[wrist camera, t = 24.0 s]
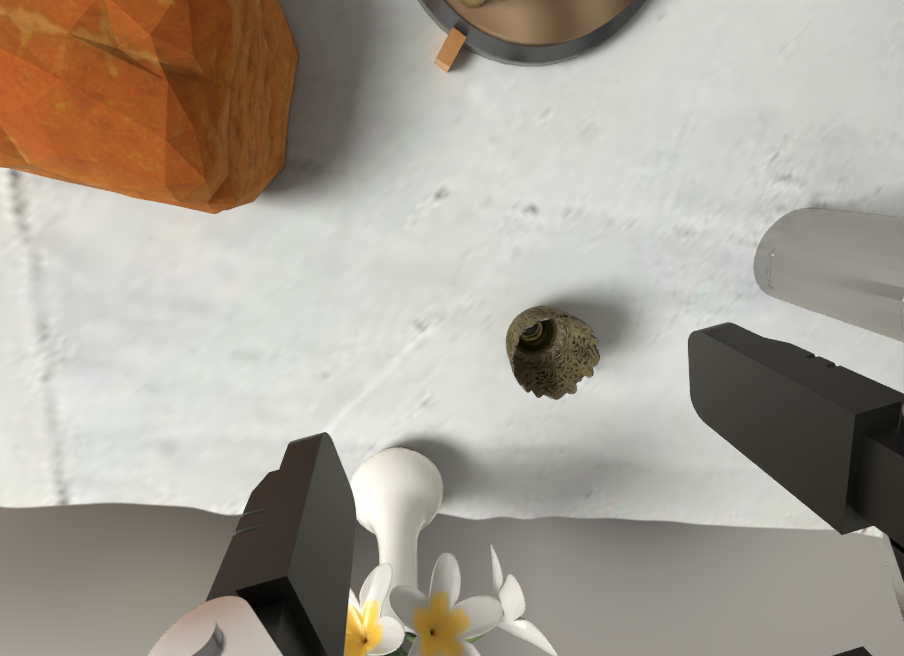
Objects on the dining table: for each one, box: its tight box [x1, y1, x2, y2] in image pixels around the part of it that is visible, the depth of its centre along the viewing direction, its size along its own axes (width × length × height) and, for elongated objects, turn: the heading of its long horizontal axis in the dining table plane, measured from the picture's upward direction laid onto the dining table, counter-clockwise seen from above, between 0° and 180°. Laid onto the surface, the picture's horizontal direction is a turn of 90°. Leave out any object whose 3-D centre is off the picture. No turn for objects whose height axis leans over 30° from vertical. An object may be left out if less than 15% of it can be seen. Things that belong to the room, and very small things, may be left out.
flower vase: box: [344, 447, 558, 656], centre depth 36 cm, size 13×18×25 cm
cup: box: [506, 306, 600, 400], centre depth 41 cm, size 8×7×8 cm
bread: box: [0, 0, 299, 214], centre depth 26 cm, size 16×27×16 cm, turn 76°
